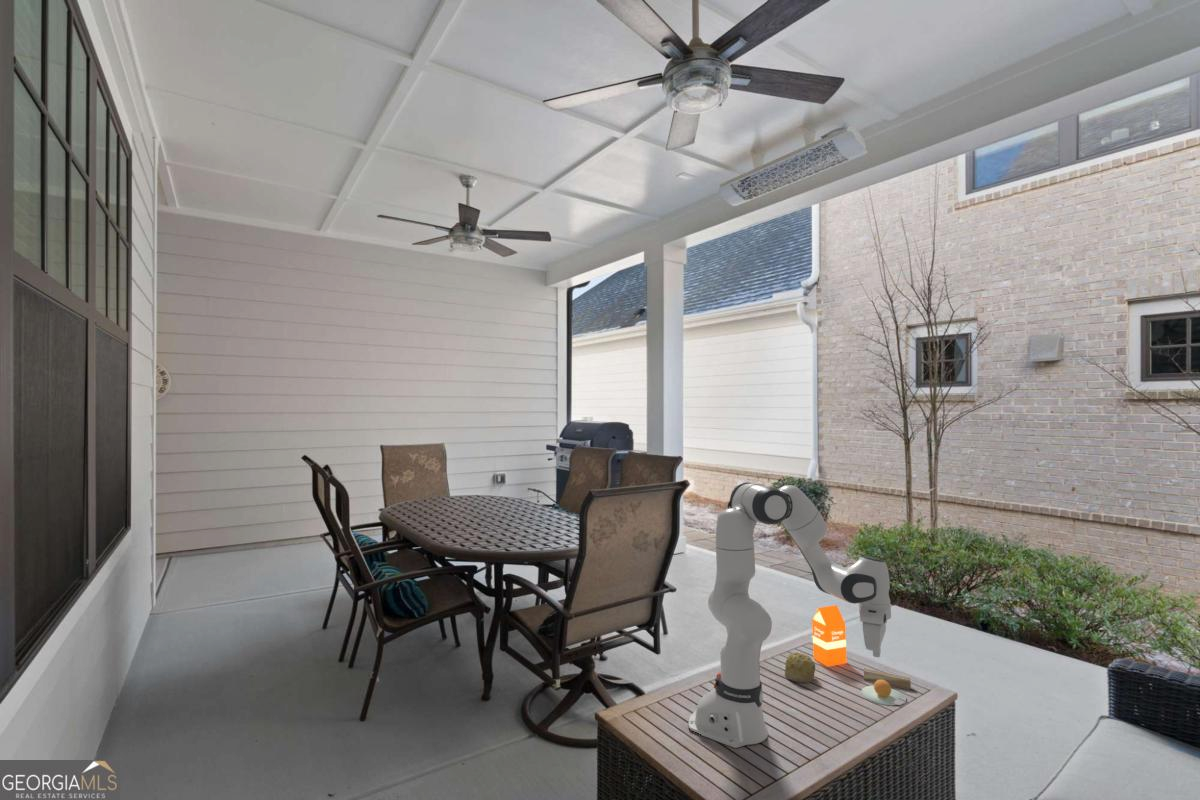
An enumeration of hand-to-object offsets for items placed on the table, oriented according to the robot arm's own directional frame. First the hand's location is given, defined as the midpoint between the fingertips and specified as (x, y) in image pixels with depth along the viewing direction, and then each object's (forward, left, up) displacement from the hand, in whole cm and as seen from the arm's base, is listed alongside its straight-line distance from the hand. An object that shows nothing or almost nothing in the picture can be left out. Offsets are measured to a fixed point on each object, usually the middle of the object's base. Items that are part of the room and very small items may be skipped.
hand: (876, 655), depth 165 cm
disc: (+1, +12, -17) cm, 21 cm away
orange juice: (-17, +33, -17) cm, 41 cm away
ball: (+1, +12, -14) cm, 18 cm away
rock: (-25, +14, -17) cm, 33 cm away
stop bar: (+2, +22, -17) cm, 28 cm away
